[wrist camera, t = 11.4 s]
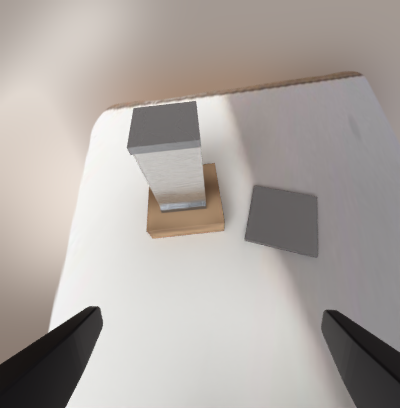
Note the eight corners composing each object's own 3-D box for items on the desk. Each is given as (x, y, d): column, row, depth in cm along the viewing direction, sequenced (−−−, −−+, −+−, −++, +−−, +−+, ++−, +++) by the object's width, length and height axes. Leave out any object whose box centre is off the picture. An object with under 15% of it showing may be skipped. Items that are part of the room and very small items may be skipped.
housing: (206, 208, 23) (200, 139, 14) (161, 213, 23) (127, 147, 14) (203, 177, 25) (196, 101, 16) (162, 181, 25) (133, 108, 16)
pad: (315, 257, 21) (317, 256, 21) (244, 240, 23) (245, 239, 23) (315, 198, 25) (317, 196, 25) (253, 187, 27) (254, 185, 26)
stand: (223, 230, 24) (224, 222, 22) (152, 238, 24) (146, 230, 22) (214, 174, 28) (214, 163, 26) (155, 181, 29) (150, 170, 26)
